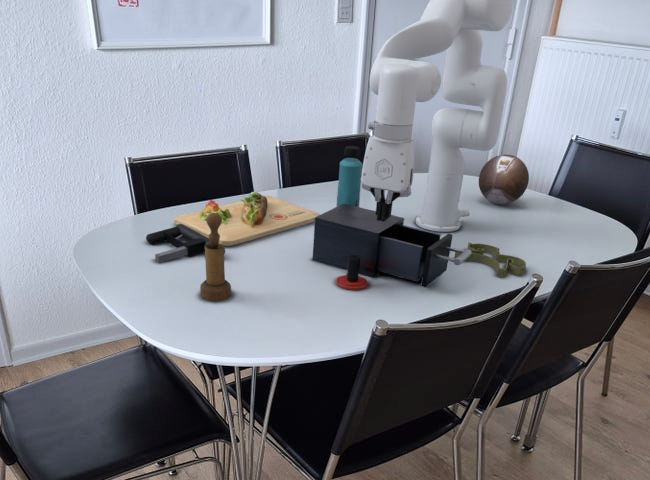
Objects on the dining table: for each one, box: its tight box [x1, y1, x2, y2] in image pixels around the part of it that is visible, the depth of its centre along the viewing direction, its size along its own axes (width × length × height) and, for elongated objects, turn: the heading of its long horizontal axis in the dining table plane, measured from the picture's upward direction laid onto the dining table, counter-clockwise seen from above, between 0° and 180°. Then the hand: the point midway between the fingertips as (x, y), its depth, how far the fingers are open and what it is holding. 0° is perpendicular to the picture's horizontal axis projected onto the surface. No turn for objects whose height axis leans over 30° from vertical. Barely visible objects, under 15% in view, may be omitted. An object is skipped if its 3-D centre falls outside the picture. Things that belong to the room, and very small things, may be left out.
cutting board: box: [173, 191, 321, 247], centre depth 178 cm, size 35×23×8 cm
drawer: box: [376, 224, 472, 288], centre depth 150 cm, size 22×13×9 cm, turn 58°
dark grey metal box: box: [312, 204, 405, 278], centre depth 158 cm, size 17×14×11 cm
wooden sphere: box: [478, 154, 530, 205], centre depth 203 cm, size 15×15×15 cm
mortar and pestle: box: [199, 213, 232, 302], centre depth 135 cm, size 7×6×18 cm
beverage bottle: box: [336, 145, 363, 207], centre depth 182 cm, size 6×7×20 cm
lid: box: [335, 255, 369, 291], centre depth 146 cm, size 7×7×6 cm
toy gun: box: [145, 224, 226, 264], centre depth 159 cm, size 3×20×16 cm
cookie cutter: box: [453, 242, 527, 278], centre depth 162 cm, size 18×12×2 cm, turn 43°
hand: (382, 219), depth 141 cm, fingers closed
